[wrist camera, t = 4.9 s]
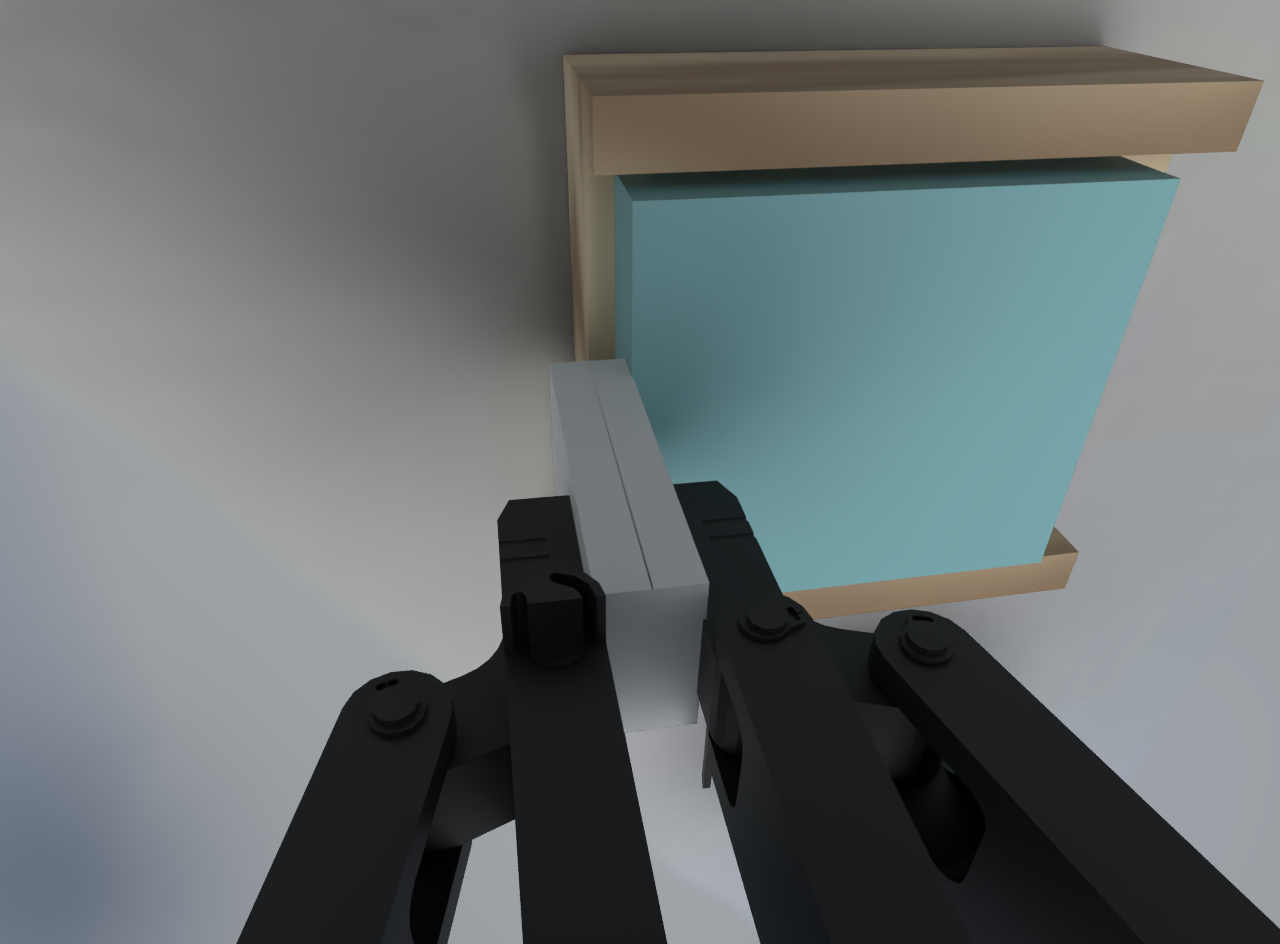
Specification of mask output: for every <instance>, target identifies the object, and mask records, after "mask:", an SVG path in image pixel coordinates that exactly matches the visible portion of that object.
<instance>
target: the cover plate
mask: <svg viewBox="0 0 1280 944" xmlns="http://www.w3.org/2000/svg"><path fill="white" fill-rule="evenodd" d="M1179 181H1180V178H1177V177H1174V176H1172V175H1169V174H1166V173H1164V172H1161V171H1159V170H1156V169H1153V168H1151V167H1148V166H1145V165H1143V164H1140V163H1137V162H1135V161H1132V160H1130V159H1127V158H1124V157H1122V156H1102V157H1075V158H1049V159H1022V160H996V161H969V162H943V163H916V164H889V165H863V166H836V167H810V168H783V169H757V170H730V171H703V172H677V173H650V174H624V175H614V217H615V359H625V360H626V363H627V366H628V369H629V371H630V374H631V377H632V378H634V381H635V384H636V386H637V389H638V392H639V395H640V397H641V400H642V403H643V405H644V408H645V411H646V413H647V416H648V419H649V422H650V424H651V427H652V430H653V432H654V435H655V438H656V440H657V443H658V446H659V449H660V451H661V454H662V457H663V459H664V462H665V465H666V467H667V470H668V473H669V476H670V478H671V481H672V484H680V483H692V482H703V481H715V480H717V481H718V482H719V483H721V484H722V485H723V486H724V487H725V488H727V489H728V490H729V491H730V492H732V493H733V494H734V495H735V496H736V497H737V498H738V500H739V503H740V505H741V507H742V509H743V511H744V513H745V515H746V520H747V521H748V522H749V524H750V526H751V528H752V530H753V532H754V537H756V539H757V541H758V543H759V545H760V547H761V549H762V551H763V553H764V556H765V558H766V560H767V562H768V564H769V566H770V568H771V570H772V573H773V575H774V577H775V579H776V581H777V583H778V585H779V587H780V589H781V592H782V593H783V592H792V591H801V590H809V589H818V588H826V587H835V586H844V585H852V584H861V583H869V582H878V581H886V580H895V579H904V578H912V577H921V576H929V575H938V574H947V573H955V572H964V571H972V570H981V569H989V568H998V567H1007V566H1015V565H1024V564H1032V563H1041V560H1042V557H1043V555H1044V552H1045V549H1046V546H1047V544H1048V541H1049V538H1050V535H1051V533H1052V530H1053V527H1054V524H1055V522H1056V519H1057V516H1058V513H1059V511H1060V508H1061V505H1062V502H1063V500H1064V497H1065V494H1066V491H1067V489H1068V486H1069V483H1070V480H1071V478H1072V475H1073V472H1074V470H1075V467H1076V464H1077V461H1078V459H1079V456H1080V453H1081V450H1082V448H1083V445H1084V442H1085V439H1086V437H1087V434H1088V431H1089V428H1090V426H1091V423H1092V420H1093V417H1094V415H1095V412H1096V409H1097V406H1098V404H1099V401H1100V398H1101V395H1102V393H1103V390H1104V387H1105V384H1106V382H1107V379H1108V376H1109V374H1110V371H1111V368H1112V365H1113V363H1114V360H1115V357H1116V354H1117V352H1118V349H1119V346H1120V343H1121V341H1122V338H1123V335H1124V332H1125V330H1126V327H1127V324H1128V321H1129V319H1130V316H1131V313H1132V310H1133V308H1134V305H1135V302H1136V299H1137V297H1138V294H1139V291H1140V288H1141V286H1142V283H1143V280H1144V277H1145V275H1146V272H1147V269H1148V267H1149V264H1150V261H1151V258H1152V256H1153V253H1154V250H1155V247H1156V245H1157V242H1158V239H1159V236H1160V234H1161V231H1162V228H1163V225H1164V223H1165V220H1166V217H1167V214H1168V212H1169V209H1170V206H1171V203H1172V201H1173V198H1174V195H1175V192H1176V190H1177V187H1178V184H1179Z"/></svg>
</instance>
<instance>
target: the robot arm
mask: <svg viewBox="0 0 1280 944" xmlns="http://www.w3.org/2000/svg"><path fill="white" fill-rule="evenodd" d="M549 371H550V394H551V416H552V438H553V461H554V482H555V488H556V494H557V496H553V497H541V498H530V499H518V500H509V501H508V503H507V505H506V506H505V508H504V510H503V512H502V513H501V515H500V517H499V518H498V520H497V522H498V538H499V554H500V571H501V587H502V600H501V604H500V613H501V623H502V633H503V639H502V641H501V643H500V645H499V648H498V649H497V651H496V652H495V653H494V654H493V655H492V657H491V658H490V659H489V660H488V661H487V662H485V663H484V664H483V665H481V666H480V667H479V668H477V669H475V670H473V671H471V672H469V673H467V674H465V675H463V676H461V677H458V678H456V679H453V680H450V681H448V682H445V683H443V682H441V681H440V680H438V679H437V678H436V677H434V676H433V675H431V674H427V673H422V672H418V671H414V670H410V671H398V672H390V673H388V674H385V675H382V676H380V677H377V678H374V679H372V680H370V681H369V682H367V683H366V684H364V685H363V686H362V687H360V688H359V689H358V690H356V691H355V692H354V693H353V694H352V696H351V697H350V698H349V700H348V701H347V702H346V704H345V705H344V707H343V708H342V710H341V712H340V715H339V717H338V719H337V721H336V724H335V726H334V728H333V730H332V733H331V735H330V737H329V739H328V741H327V744H326V746H325V748H324V750H323V753H322V755H321V757H320V759H319V761H318V764H317V766H316V768H315V770H314V773H313V775H312V777H311V779H310V781H309V784H308V786H307V788H306V790H305V792H304V795H303V797H302V799H301V801H300V804H299V806H298V808H297V810H296V812H295V815H294V817H293V819H292V821H291V824H290V826H289V828H288V831H287V833H286V835H285V837H284V839H283V842H282V844H281V846H280V848H279V850H278V852H277V855H276V857H275V859H274V861H273V864H272V866H271V868H270V870H269V872H268V875H267V877H266V879H265V882H264V884H263V886H262V888H261V890H260V892H259V895H258V897H257V899H256V901H255V903H254V906H253V908H252V910H251V912H250V915H249V917H248V919H247V921H246V923H245V926H244V928H243V930H242V933H241V935H240V937H239V939H238V942H237V943H236V944H447V943H448V939H449V935H450V931H451V927H452V923H453V919H454V914H455V910H456V906H457V902H458V898H459V894H460V890H461V886H462V882H463V878H464V873H465V870H466V866H467V861H468V857H469V853H470V849H471V845H472V839H475V838H476V837H479V836H481V835H483V834H485V833H487V832H489V831H491V830H493V829H495V828H498V827H500V826H501V825H504V824H506V823H508V822H510V821H512V820H514V819H515V824H516V840H517V856H518V871H519V887H520V902H521V918H522V933H523V944H667V940H666V935H665V930H664V925H663V920H662V915H661V911H660V905H659V900H658V895H657V891H656V886H655V881H654V876H653V871H652V866H651V861H650V856H649V851H648V846H647V841H646V836H645V831H644V827H643V822H642V817H641V812H640V807H639V802H638V797H637V792H636V787H635V782H634V777H633V772H632V767H631V763H630V758H629V753H628V748H627V743H626V738H625V733H627V732H634V731H642V730H650V729H657V728H665V727H672V726H680V725H687V724H695V723H697V717H698V706H699V701H700V704H701V708H702V711H703V714H704V718H705V721H706V724H707V729H706V739H705V749H704V760H703V770H702V784H703V788H710V784H711V775H712V777H713V781H714V784H715V788H716V791H717V795H718V798H719V801H720V805H721V808H722V812H723V815H724V819H725V822H726V826H727V829H728V833H729V836H730V840H731V843H732V847H733V850H734V854H735V857H736V860H737V864H738V867H739V871H740V874H741V878H742V881H743V885H744V888H745V892H746V895H747V899H748V902H749V906H750V909H751V912H752V916H753V919H754V923H755V926H756V930H757V933H758V937H759V940H760V943H761V944H1280V929H1279V928H1278V927H1277V926H1276V925H1275V924H1274V923H1273V922H1272V921H1271V920H1270V919H1269V918H1268V917H1267V916H1266V915H1264V913H1262V912H1261V911H1260V910H1259V909H1258V908H1257V907H1256V906H1255V905H1254V904H1253V903H1252V902H1251V901H1250V900H1249V899H1248V898H1247V897H1246V896H1245V895H1243V894H1242V893H1241V892H1240V891H1239V890H1238V889H1237V888H1236V887H1235V886H1234V885H1233V884H1232V883H1231V882H1230V881H1229V880H1228V879H1227V878H1226V877H1224V876H1223V875H1222V874H1221V873H1220V872H1219V871H1218V870H1217V869H1216V868H1215V867H1214V866H1213V865H1212V864H1211V863H1210V862H1209V861H1208V860H1206V859H1205V858H1204V857H1203V856H1202V855H1201V854H1200V853H1199V852H1198V851H1197V850H1196V849H1195V848H1194V847H1193V846H1192V845H1191V844H1190V843H1189V842H1188V841H1187V840H1185V839H1184V838H1183V837H1182V836H1181V835H1180V834H1179V833H1178V832H1177V831H1176V830H1175V829H1174V828H1173V827H1172V826H1171V825H1169V823H1167V822H1166V821H1165V820H1164V819H1163V818H1162V817H1161V816H1160V815H1159V814H1158V813H1157V812H1156V811H1155V810H1154V809H1153V808H1152V807H1151V806H1149V804H1147V803H1146V802H1145V801H1144V800H1143V799H1142V798H1141V797H1140V796H1139V795H1138V794H1137V793H1136V792H1135V791H1134V790H1133V789H1132V788H1131V787H1130V786H1128V785H1127V784H1126V783H1125V782H1124V781H1123V780H1122V779H1121V778H1120V777H1119V776H1118V775H1117V774H1116V773H1115V772H1114V771H1113V770H1112V769H1111V768H1109V767H1108V766H1107V765H1106V764H1105V763H1104V762H1103V761H1102V760H1101V759H1100V758H1099V757H1098V756H1097V755H1096V754H1095V753H1094V752H1093V751H1091V750H1090V749H1089V748H1088V747H1087V746H1086V745H1085V744H1084V743H1083V742H1082V741H1081V740H1080V739H1079V738H1078V737H1077V736H1076V735H1075V734H1074V733H1072V732H1071V731H1070V730H1069V729H1068V728H1067V727H1066V726H1065V725H1064V724H1063V723H1062V722H1061V721H1060V720H1059V719H1058V718H1057V717H1056V716H1055V715H1053V714H1052V713H1051V712H1050V711H1049V710H1048V709H1047V708H1046V707H1045V706H1044V705H1043V704H1042V703H1041V702H1040V701H1039V700H1038V699H1037V698H1036V697H1034V696H1033V695H1032V694H1031V693H1030V692H1029V691H1028V690H1027V689H1026V688H1025V687H1024V686H1023V685H1022V684H1021V683H1020V682H1019V681H1018V680H1017V679H1015V678H1014V677H1013V676H1012V675H1011V674H1010V673H1009V672H1008V671H1007V670H1006V669H1005V668H1004V667H1003V666H1002V665H1001V664H1000V663H999V662H998V661H996V660H995V659H994V658H993V657H992V656H991V655H990V654H989V653H988V652H987V651H986V650H985V649H984V648H983V647H982V646H981V645H980V644H979V643H977V642H976V641H975V640H974V639H973V638H972V637H971V636H970V635H969V634H968V633H967V632H966V631H965V630H963V629H962V628H961V627H959V626H958V625H956V624H955V623H954V622H952V621H951V620H949V619H947V618H945V617H942V616H939V615H937V614H934V613H932V612H927V611H919V610H912V609H910V610H904V611H897V612H893V613H891V614H890V615H888V616H886V617H884V618H883V619H881V621H880V623H879V624H878V626H877V628H876V630H875V632H874V633H867V632H860V631H852V630H845V629H838V628H834V627H829V626H824V625H822V624H819V623H817V622H814V620H813V618H812V617H811V616H810V614H809V613H808V612H807V611H806V609H805V608H804V607H803V606H802V605H800V604H799V603H797V602H796V601H794V600H792V599H791V598H789V597H787V596H784V595H783V594H782V592H781V589H780V587H779V585H778V583H777V581H776V579H775V577H774V575H773V573H772V570H771V568H770V566H769V564H768V562H767V560H766V558H765V556H764V553H763V551H762V549H761V547H760V545H759V543H758V541H757V539H756V537H754V532H753V530H752V528H751V526H750V524H749V522H748V521H747V520H746V515H745V513H744V511H743V509H742V507H741V505H740V503H739V500H738V498H737V497H736V496H735V495H734V494H733V493H732V492H730V491H729V490H728V489H727V488H725V487H724V486H723V485H722V484H721V483H719V482H718V481H717V480H715V481H703V482H692V483H680V484H672V481H671V478H670V476H669V473H668V470H667V467H666V465H665V462H664V459H663V457H662V454H661V451H660V449H659V446H658V443H657V440H656V438H655V435H654V432H653V430H652V427H651V424H650V422H649V419H648V416H647V413H646V411H645V408H644V405H643V403H642V400H641V397H640V395H639V392H638V389H637V386H636V384H635V381H634V378H632V377H631V374H630V371H629V369H628V366H627V363H626V360H625V359H609V360H593V361H576V362H560V363H549Z"/></svg>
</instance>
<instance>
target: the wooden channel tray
mask: <svg viewBox="0 0 1280 944" xmlns="http://www.w3.org/2000/svg"><path fill="white" fill-rule="evenodd" d="M563 64H564V90H565V116H566V142H567V169H568V195H569V221H570V247H571V273H572V300H573V326H574V352H575V362H576V361H593V360H609V359H615V217H614V175H624V174H650V173H677V172H703V171H730V170H757V169H783V168H810V167H836V166H863V165H889V164H916V163H943V162H969V161H996V160H1022V159H1049V158H1075V157H1102V156H1122V157H1124V158H1127V159H1130V160H1132V161H1135V162H1137V163H1140V164H1143V165H1145V166H1148V167H1151V168H1153V169H1156V170H1159V171H1161V172H1164V173H1166V170H1167V167H1168V164H1169V162H1170V159H1171V156H1172V154H1182V153H1208V152H1235V151H1237V148H1238V146H1239V143H1240V141H1241V138H1242V136H1243V133H1244V130H1245V128H1246V125H1247V123H1248V120H1249V118H1250V115H1251V113H1252V110H1253V108H1254V105H1255V102H1256V100H1257V97H1258V95H1259V92H1260V90H1261V87H1262V85H1263V82H1264V81H1262V80H1258V79H1253V78H1249V77H1244V76H1239V75H1235V74H1230V73H1226V72H1221V71H1216V70H1212V69H1207V68H1203V67H1198V66H1193V65H1189V64H1184V63H1180V62H1175V61H1170V60H1166V59H1161V58H1156V57H1152V56H1147V55H1143V54H1138V53H1133V52H1129V51H1124V50H1120V49H1115V48H1110V47H1106V46H1083V47H1018V48H953V49H888V50H824V51H759V52H694V53H629V54H565V55H563ZM1078 553H1079V552H1078V551H1077V550H1076V549H1075V548H1074V547H1073V546H1072V545H1071V544H1070V543H1069V542H1068V540H1067V539H1066V538H1065V537H1064V536H1063V535H1062V534H1061V533H1060V532H1059V531H1058V530H1057V529H1056V528H1055V527H1053V530H1052V533H1051V535H1050V538H1049V541H1048V544H1047V546H1046V549H1045V552H1044V555H1043V557H1042V560H1041V563H1032V564H1024V565H1015V566H1007V567H998V568H989V569H981V570H972V571H964V572H955V573H947V574H938V575H929V576H921V577H912V578H904V579H895V580H886V581H878V582H869V583H861V584H852V585H844V586H835V587H826V588H818V589H809V590H801V591H792V592H783V593H782V594H783V595H784V596H787V597H789V598H791V599H792V600H794V601H796V602H797V603H799V604H800V605H802V606H803V607H804V608H805V609H806V611H807V612H808V613H809V614H810V616H811V617H812V618H813V619H820V618H828V617H836V616H844V615H852V614H860V613H869V612H877V611H885V610H893V609H901V608H909V607H917V606H925V605H933V604H941V603H949V602H958V601H966V600H974V599H982V598H990V597H998V596H1006V595H1014V594H1022V593H1030V592H1038V591H1047V590H1055V589H1063V588H1065V586H1066V584H1067V581H1068V578H1069V576H1070V573H1071V571H1072V568H1073V566H1074V563H1075V561H1076V558H1077V556H1078Z"/></svg>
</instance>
